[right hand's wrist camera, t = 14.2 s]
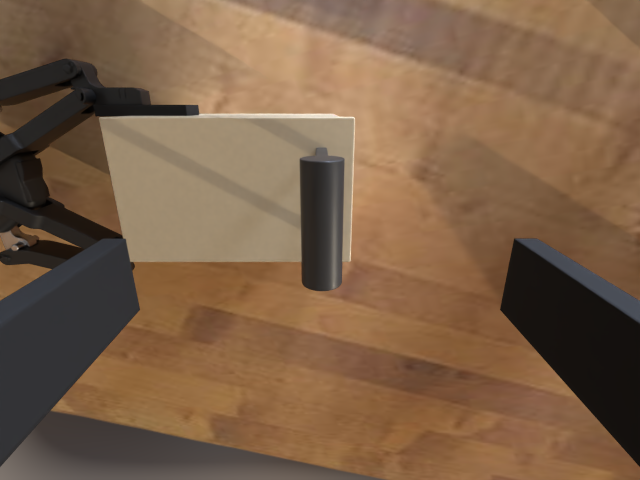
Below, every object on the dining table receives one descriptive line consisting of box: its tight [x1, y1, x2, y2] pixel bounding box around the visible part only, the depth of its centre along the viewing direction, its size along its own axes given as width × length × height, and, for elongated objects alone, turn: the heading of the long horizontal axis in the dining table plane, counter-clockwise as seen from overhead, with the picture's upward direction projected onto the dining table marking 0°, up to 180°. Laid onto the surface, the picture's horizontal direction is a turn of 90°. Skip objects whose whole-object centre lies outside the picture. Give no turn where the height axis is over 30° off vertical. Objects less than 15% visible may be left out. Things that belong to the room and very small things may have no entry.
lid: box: [99, 117, 355, 291], centre depth 21 cm, size 16×10×8 cm, turn 90°
